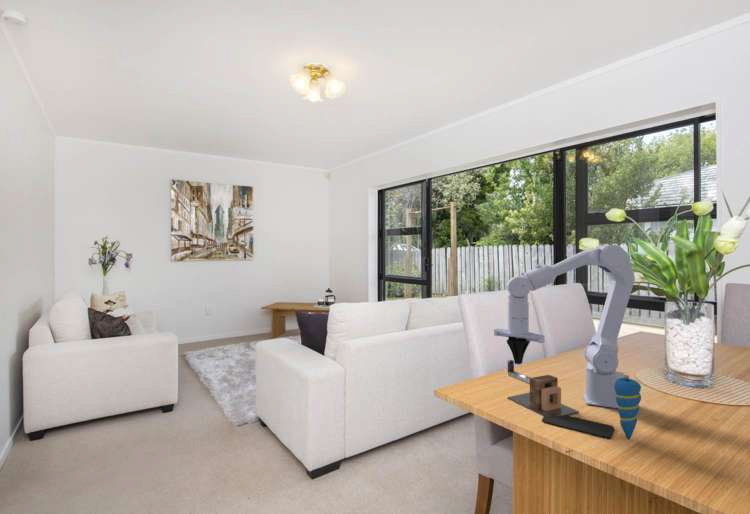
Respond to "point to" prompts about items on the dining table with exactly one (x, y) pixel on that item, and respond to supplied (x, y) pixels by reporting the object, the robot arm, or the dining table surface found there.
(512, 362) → the crank handle
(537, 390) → the bearing block
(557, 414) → the base plate
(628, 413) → the ornament
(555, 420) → the phone
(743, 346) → the dining table surface
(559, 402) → the collar
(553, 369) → the dining table surface
